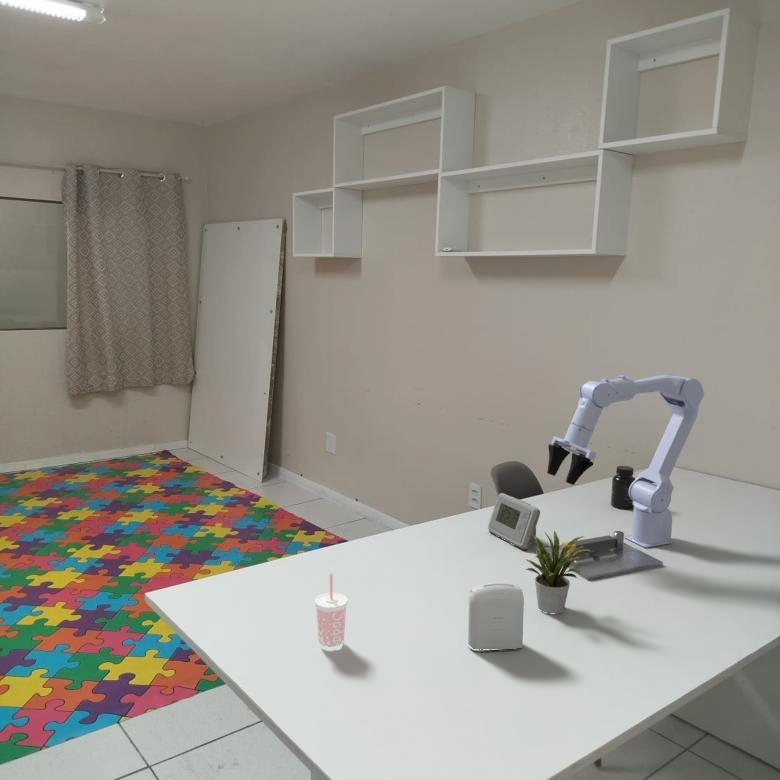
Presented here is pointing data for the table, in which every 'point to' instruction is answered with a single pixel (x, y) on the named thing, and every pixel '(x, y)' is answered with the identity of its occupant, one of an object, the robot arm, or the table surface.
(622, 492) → the supplement bottle
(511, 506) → the digital clock
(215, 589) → the table surface
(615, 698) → the table surface
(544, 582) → the house plant
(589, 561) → the grey lever board
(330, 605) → the beverage cup
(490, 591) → the photo printer
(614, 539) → the swing bar
